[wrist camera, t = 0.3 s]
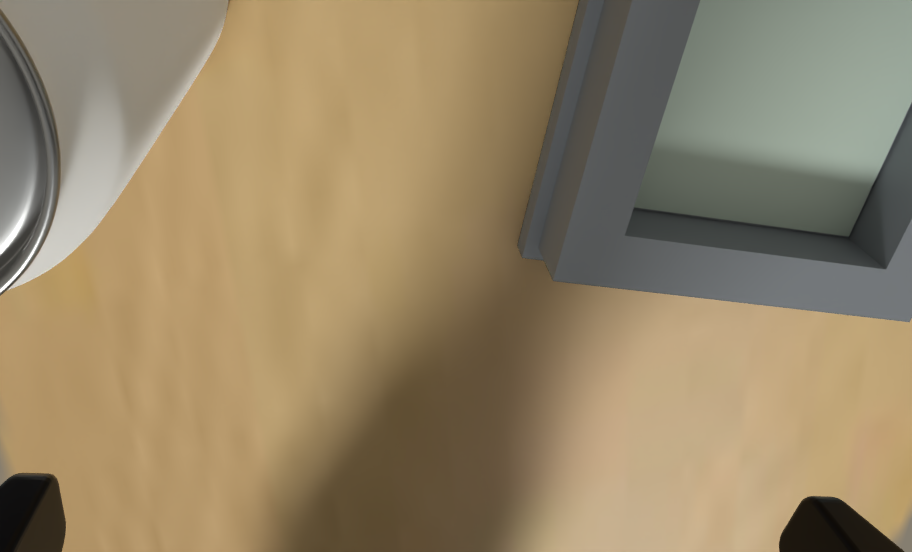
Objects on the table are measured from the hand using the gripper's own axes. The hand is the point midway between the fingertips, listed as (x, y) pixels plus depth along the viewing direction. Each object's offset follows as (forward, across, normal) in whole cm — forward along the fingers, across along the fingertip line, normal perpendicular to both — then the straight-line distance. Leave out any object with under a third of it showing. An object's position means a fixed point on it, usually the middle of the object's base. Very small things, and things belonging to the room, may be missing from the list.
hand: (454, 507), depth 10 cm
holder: (+14, -10, -1) cm, 18 cm away
